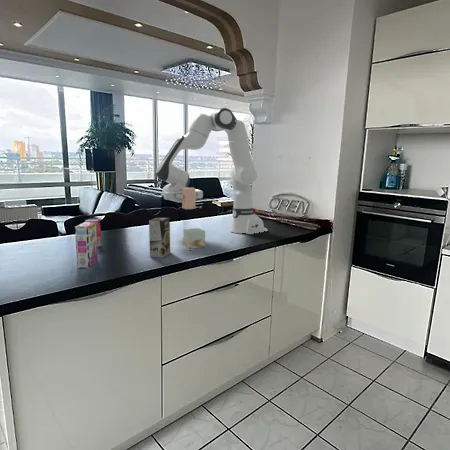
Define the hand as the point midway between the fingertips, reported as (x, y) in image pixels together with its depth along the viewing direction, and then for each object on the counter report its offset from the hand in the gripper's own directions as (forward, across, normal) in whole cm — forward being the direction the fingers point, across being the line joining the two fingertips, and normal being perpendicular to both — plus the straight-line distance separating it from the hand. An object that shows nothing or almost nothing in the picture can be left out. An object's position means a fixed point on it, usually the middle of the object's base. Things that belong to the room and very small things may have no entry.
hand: (189, 196), depth 164 cm
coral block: (-1, 0, +6) cm, 6 cm away
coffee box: (+13, -20, +24) cm, 34 cm away
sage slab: (+5, 0, +20) cm, 21 cm away
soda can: (-16, -43, +24) cm, 52 cm away
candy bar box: (+13, -50, +24) cm, 57 cm away
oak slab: (+5, 0, +24) cm, 25 cm away
